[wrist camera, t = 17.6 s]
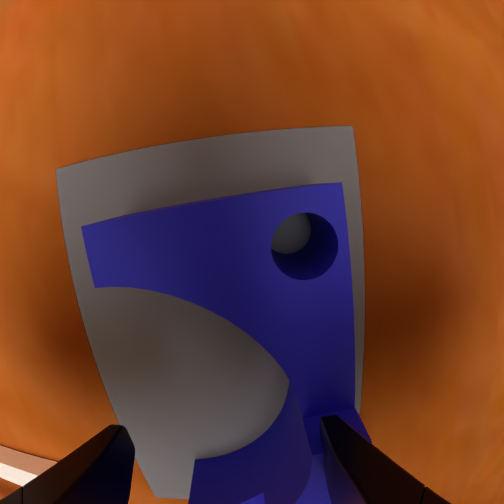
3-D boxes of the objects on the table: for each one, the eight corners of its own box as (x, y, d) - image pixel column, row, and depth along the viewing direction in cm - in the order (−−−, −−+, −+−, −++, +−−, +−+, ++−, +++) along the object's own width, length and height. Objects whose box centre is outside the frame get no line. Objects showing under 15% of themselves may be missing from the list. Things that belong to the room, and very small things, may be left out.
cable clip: (356, 537, 8) (195, 555, 8) (333, 462, 12) (203, 478, 12) (367, 181, 5) (47, 235, 5) (313, 184, 10) (124, 215, 10)
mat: (348, 127, 10) (352, 125, 9) (348, 478, 13) (350, 484, 12) (61, 169, 10) (55, 169, 9) (157, 492, 13) (155, 497, 12)
